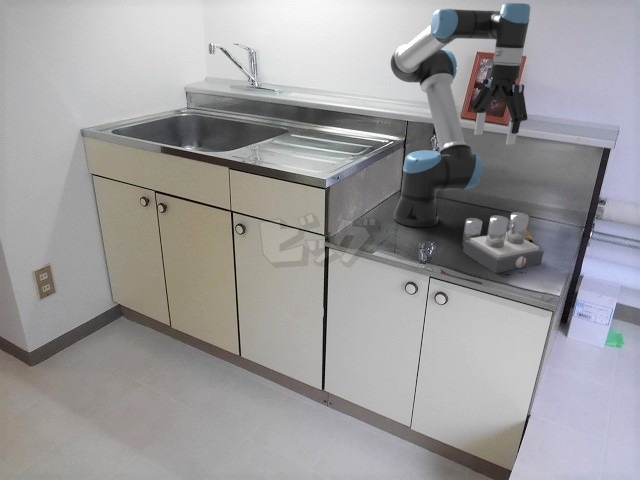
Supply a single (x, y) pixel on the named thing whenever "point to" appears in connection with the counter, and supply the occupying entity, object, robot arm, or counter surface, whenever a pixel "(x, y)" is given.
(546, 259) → the counter surface
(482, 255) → the scale
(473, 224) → the cylinder
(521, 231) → the cylinder
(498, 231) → the cylinder
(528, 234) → the filled bread boat
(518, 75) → the robot arm
